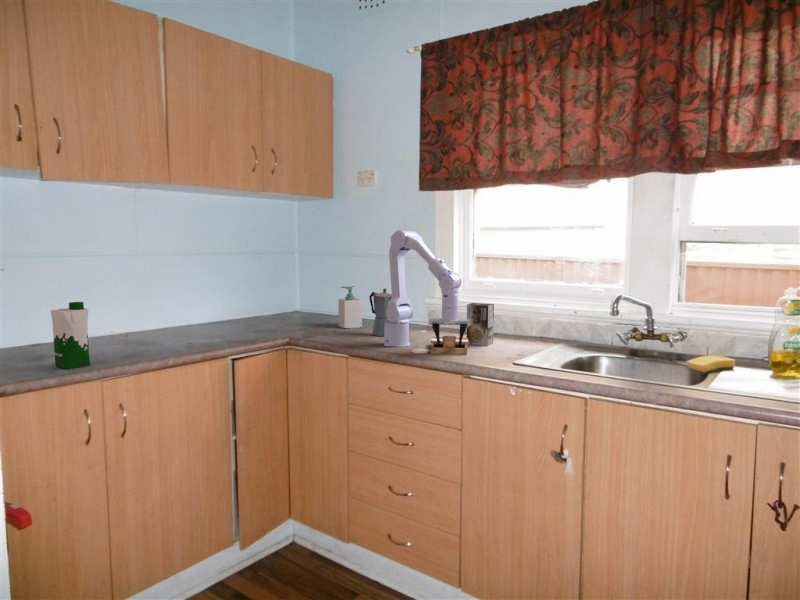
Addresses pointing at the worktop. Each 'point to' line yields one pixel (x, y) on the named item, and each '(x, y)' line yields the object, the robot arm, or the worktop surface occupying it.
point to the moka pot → (380, 311)
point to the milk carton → (71, 336)
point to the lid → (464, 341)
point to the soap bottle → (350, 311)
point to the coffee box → (480, 323)
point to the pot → (449, 341)
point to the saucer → (420, 351)
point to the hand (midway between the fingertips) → (449, 344)
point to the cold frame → (448, 349)
